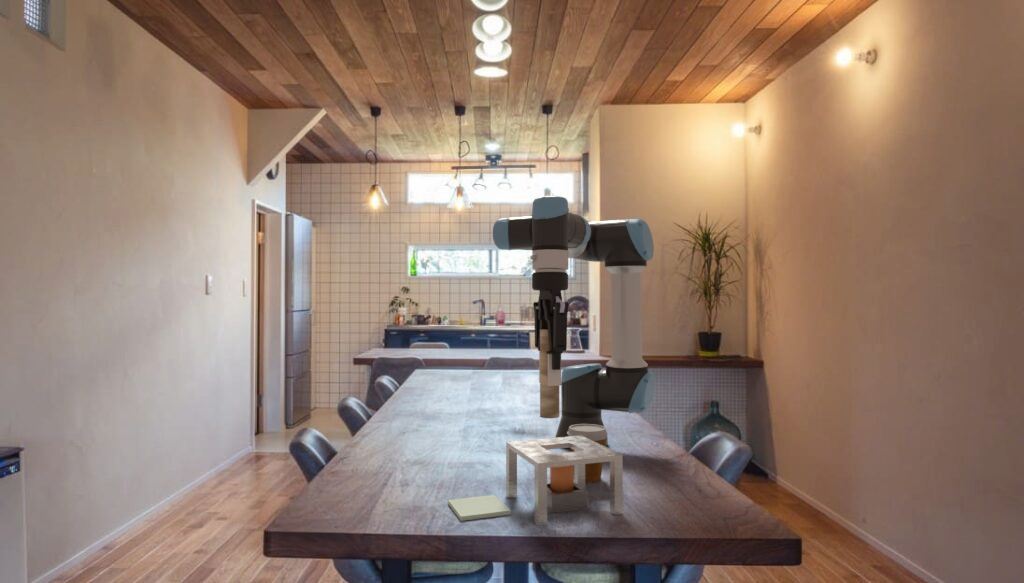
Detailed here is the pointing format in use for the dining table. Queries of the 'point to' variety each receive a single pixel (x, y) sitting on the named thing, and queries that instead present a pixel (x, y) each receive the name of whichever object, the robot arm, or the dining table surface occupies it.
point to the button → (562, 478)
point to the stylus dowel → (547, 393)
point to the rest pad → (478, 507)
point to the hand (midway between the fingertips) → (550, 383)
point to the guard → (544, 459)
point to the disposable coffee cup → (596, 435)
